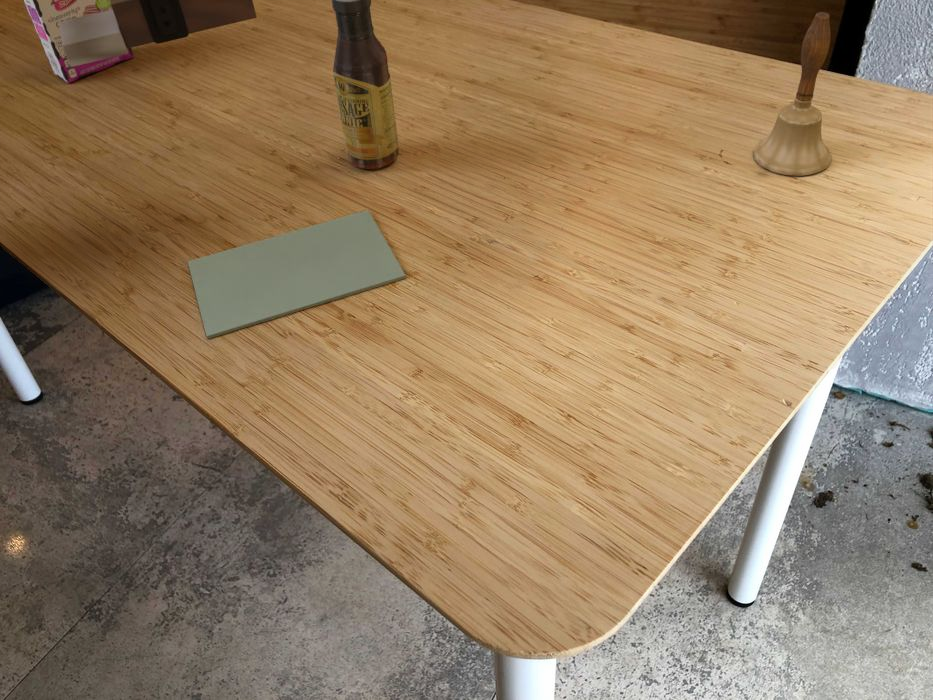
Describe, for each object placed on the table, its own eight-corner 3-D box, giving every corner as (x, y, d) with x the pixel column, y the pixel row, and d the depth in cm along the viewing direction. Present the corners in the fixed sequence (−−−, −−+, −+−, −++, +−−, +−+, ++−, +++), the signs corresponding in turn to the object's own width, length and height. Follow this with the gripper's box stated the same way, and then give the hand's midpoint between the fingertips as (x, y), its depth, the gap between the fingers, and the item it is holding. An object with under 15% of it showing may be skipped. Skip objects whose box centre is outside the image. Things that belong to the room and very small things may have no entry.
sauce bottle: (338, 162, 102) (303, -5, 89) (376, 140, 105) (348, -24, 92) (374, 179, 99) (344, 8, 85) (413, 156, 102) (389, -12, 88)
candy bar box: (69, 85, 124) (19, -30, 113) (54, 76, 127) (4, -38, 116) (137, 57, 129) (96, -56, 118) (122, 49, 132) (80, -62, 121)
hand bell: (764, 132, 99) (789, -6, 88) (839, 146, 96) (874, 4, 85) (743, 167, 94) (766, 25, 83) (820, 183, 91) (855, 37, 80)
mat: (207, 339, 81) (206, 336, 80) (188, 264, 90) (187, 261, 89) (406, 278, 85) (405, 275, 85) (368, 212, 94) (368, 209, 94)
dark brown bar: (246, 1, 82) (235, -42, 80) (259, 22, 78) (248, -22, 76) (67, 42, 79) (49, -1, 76) (71, 67, 75) (52, 22, 72)
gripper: (153, -191, 61) (224, 54, 74) (129, -225, 73) (194, -8, 85) (45, -172, 59) (137, 75, 72) (38, -209, 71) (119, 9, 83)
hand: (168, 28), depth 78 cm, fingers closed on dark brown bar, 3 cm apart
